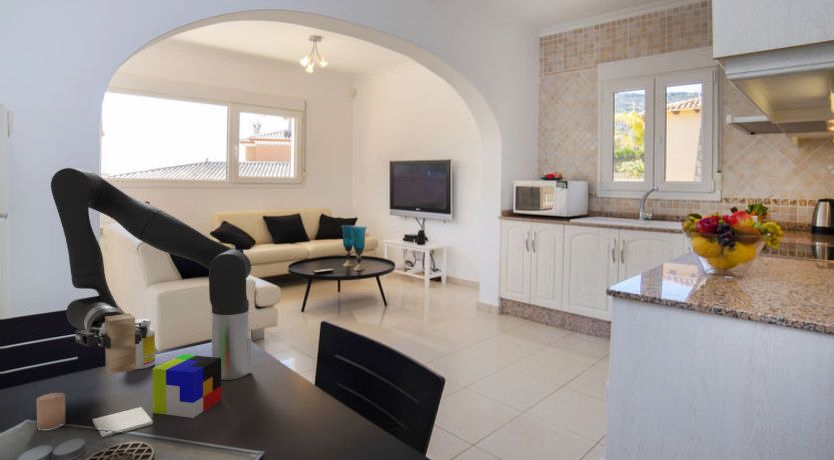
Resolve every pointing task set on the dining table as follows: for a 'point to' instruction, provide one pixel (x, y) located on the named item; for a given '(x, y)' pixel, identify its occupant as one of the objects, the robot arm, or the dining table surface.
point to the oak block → (120, 343)
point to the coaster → (123, 421)
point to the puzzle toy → (186, 385)
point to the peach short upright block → (50, 410)
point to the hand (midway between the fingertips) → (123, 341)
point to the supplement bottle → (145, 348)
